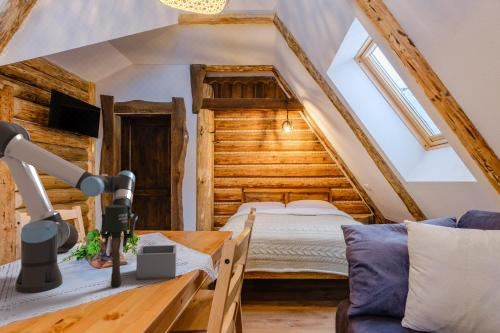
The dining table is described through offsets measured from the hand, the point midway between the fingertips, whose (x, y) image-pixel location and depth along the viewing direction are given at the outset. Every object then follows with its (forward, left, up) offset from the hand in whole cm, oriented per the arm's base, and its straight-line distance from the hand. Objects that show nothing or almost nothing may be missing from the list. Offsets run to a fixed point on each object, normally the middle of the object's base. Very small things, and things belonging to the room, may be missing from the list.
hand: (114, 253), depth 130 cm
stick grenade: (0, +4, -13) cm, 14 cm away
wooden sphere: (-37, +63, -13) cm, 74 cm away
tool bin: (+14, +18, -13) cm, 26 cm away
